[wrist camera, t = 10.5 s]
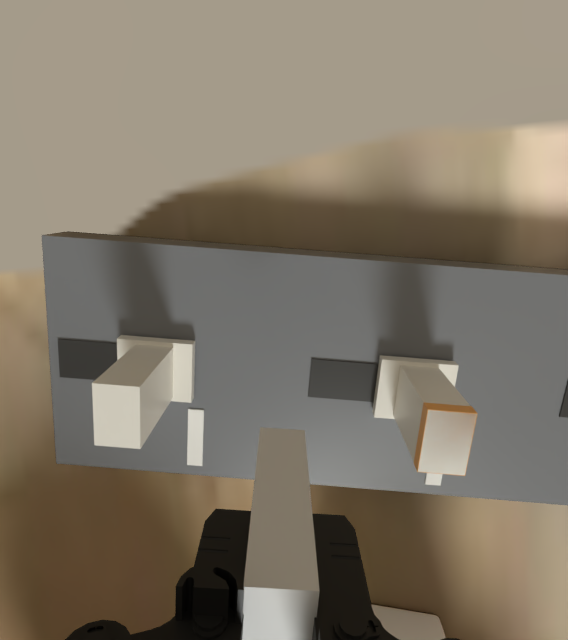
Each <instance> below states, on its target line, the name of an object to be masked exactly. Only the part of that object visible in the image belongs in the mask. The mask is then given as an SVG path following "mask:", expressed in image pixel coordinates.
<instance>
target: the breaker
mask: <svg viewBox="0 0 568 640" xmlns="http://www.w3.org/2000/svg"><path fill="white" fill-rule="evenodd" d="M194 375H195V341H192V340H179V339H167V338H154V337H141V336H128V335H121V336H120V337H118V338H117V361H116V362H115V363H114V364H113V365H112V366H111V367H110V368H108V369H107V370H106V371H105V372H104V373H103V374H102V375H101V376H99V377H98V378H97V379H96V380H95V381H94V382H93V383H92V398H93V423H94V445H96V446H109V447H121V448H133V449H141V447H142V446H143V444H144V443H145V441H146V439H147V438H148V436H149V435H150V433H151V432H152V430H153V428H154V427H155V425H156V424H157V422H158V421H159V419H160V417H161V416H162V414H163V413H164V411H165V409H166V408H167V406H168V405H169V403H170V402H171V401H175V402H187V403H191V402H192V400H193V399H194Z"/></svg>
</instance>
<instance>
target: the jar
mask: <svg viewBox="0 0 568 640" xmlns="http://www.w3.org/2000/svg"><path fill="white" fill-rule="evenodd" d="M371 605H372V609H373V612H374V615H375V616H376V617H377V618H378V619H379V620H380V621H381V624H382V626H383V628H384V629H385V630H386V631H387V632H389V633H390V634H391V635H393V636H394V637H396V638H397V639H399V640H441V639H444V638H446V636H445V633H444V630H443V627H442V624H441V621H440V619H439V617H438V616H436V615H433V614H427V613H421V612H415V611H409V610H403V609H397V608H391V607H385V606H379V605H373V604H371Z"/></svg>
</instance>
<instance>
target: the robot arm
mask: <svg viewBox="0 0 568 640" xmlns="http://www.w3.org/2000/svg"><path fill="white" fill-rule="evenodd" d="M65 640H399V639H397V638H396V637H394V636H393V635H391V634H390V633H389V632H387V631H386V630H385V629H384V628H383V626H382V624H381V621H380V620H379V619H378V618H377V617H376V616H375V615H374V612H373V609H372V605H371V601H370V596H369V592H368V587H367V583H366V578H365V573H364V569H363V564H362V560H361V555H360V550H359V547H358V541H357V537H356V532H355V529H354V527H353V526H352V525H351V523H350V522H349V521H348V520H347V518H346V517H345V516H342V515H326V514H312V504H311V493H310V482H309V471H308V460H307V450H306V439H305V430H294V429H278V428H263V427H260V433H259V443H258V452H257V462H256V471H255V481H254V490H253V500H252V509H251V511H241V510H225V509H215V511H214V512H213V513H212V514H211V515H210V516H209V517H208V519H207V520H206V521H205V524H204V528H203V532H202V536H201V540H200V544H199V548H198V552H197V556H196V560H195V564H194V567H192V568H190V569H189V570H188V571H187V572H186V573H184V574H183V575H182V576H181V578H180V580H179V581H178V583H177V585H176V613H175V617H173V618H172V619H171V620H170V621H169V622H167V623H165V624H164V625H162V626H160V627H157V628H154V629H152V630H148V631H144V632H140V633H136V634H132V635H130V633H129V632H128V630H127V628H126V627H125V626H123V625H121V624H120V623H118V622H116V621H109V620H100V621H96V622H91V623H88V624H86V625H84V626H82V627H80V628H79V629H77V630H75V631H74V632H73V633H72V634H71V635H69V636H68V637H67V638H66V639H65ZM441 640H460V639H456V638H444V639H441Z"/></svg>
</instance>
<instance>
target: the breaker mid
mask: <svg viewBox="0 0 568 640" xmlns="http://www.w3.org/2000/svg"><path fill="white" fill-rule="evenodd" d="M458 367H459V365H458V364H457V363H456V362H455V361H447V360H434V359H421V358H409V357H396V356H383V355H380V358H379V365H378V373H377V380H376V388H375V395H374V403H373V410H372V413H373V416H374V418H387V419H395V420H396V423H397V425H398V427H399V430H400V432H401V434H402V436H403V439H404V441H405V443H406V446H407V448H408V450H409V452H410V455H411V457H412V459H413V462H414V466H415V468H416V470H417V472H423V473H435V474H447V475H459V476H465V474H466V469H467V464H468V459H469V454H470V449H471V444H472V439H473V434H474V429H475V424H476V419H477V414H478V413H477V412H476V411H475V410H474V409H473V407H472V406H470V405H469V404H468V402H467V401H466V400H465V399H464V398H463V396H462V395H461V394H460V393H459V392H458V390H457V389H456V388H455V383H456V378H457V372H458Z"/></svg>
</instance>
